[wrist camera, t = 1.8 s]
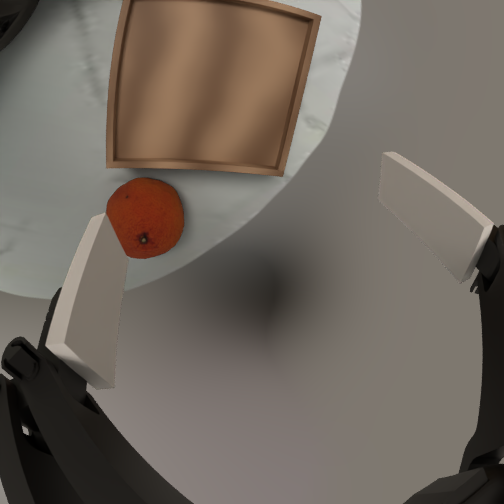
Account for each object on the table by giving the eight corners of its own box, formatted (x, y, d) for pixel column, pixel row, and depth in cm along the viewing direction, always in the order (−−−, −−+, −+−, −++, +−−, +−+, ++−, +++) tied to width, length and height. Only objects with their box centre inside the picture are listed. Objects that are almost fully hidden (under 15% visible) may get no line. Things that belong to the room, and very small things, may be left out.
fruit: (178, 161, 29) (177, 192, 23) (187, 227, 34) (190, 269, 28) (104, 175, 27) (84, 208, 21) (121, 237, 33) (111, 280, 27)
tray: (122, 146, 26) (106, 168, 20) (139, 6, 16) (126, -11, 11) (263, 153, 30) (282, 176, 25) (292, 24, 21) (321, 16, 16)
